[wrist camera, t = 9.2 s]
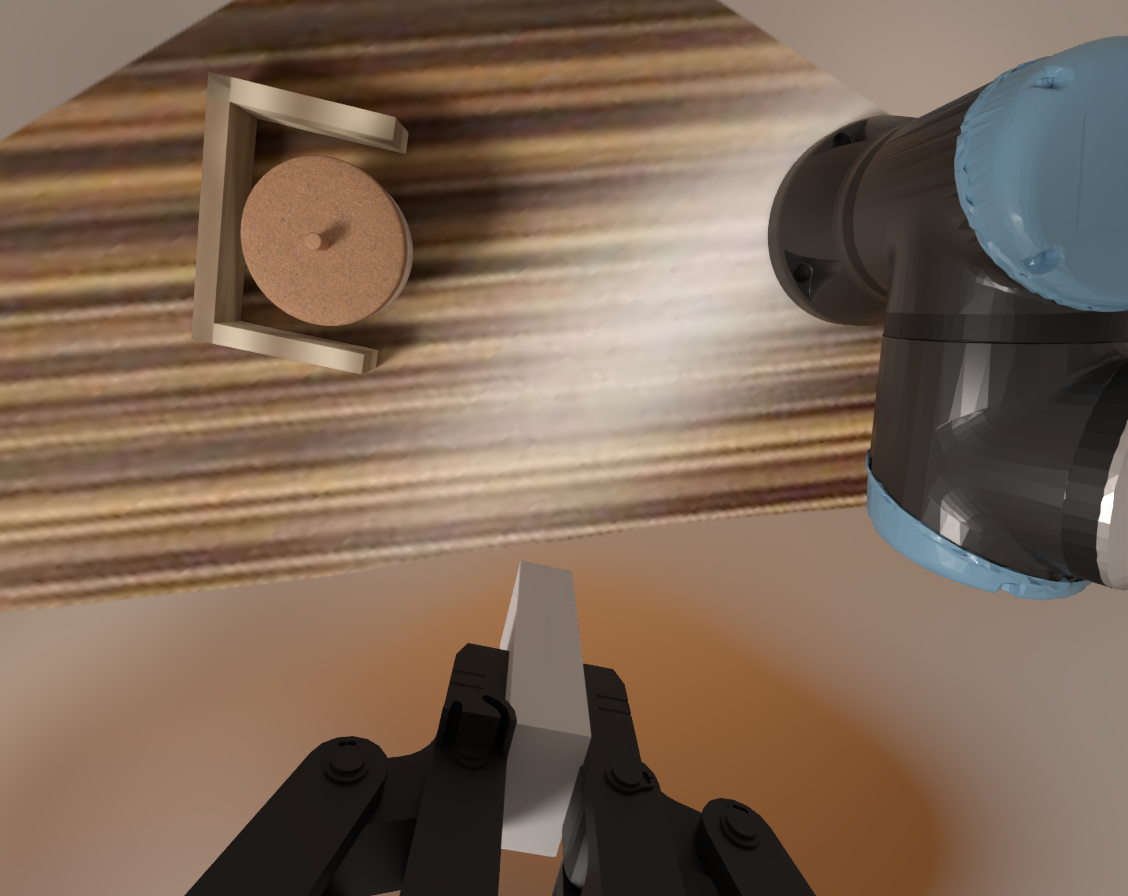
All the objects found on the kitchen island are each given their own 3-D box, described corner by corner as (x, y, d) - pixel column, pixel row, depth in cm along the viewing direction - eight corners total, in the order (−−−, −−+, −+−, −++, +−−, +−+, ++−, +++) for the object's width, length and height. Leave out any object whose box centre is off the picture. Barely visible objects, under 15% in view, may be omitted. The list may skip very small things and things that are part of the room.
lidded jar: (343, 146, 44) (291, 107, 35) (454, 245, 46) (433, 233, 37) (261, 258, 46) (192, 248, 37) (372, 349, 48) (332, 361, 39)
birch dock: (408, 132, 44) (395, 117, 40) (376, 367, 49) (361, 374, 45) (238, 91, 43) (208, 71, 39) (220, 335, 48) (191, 339, 44)
